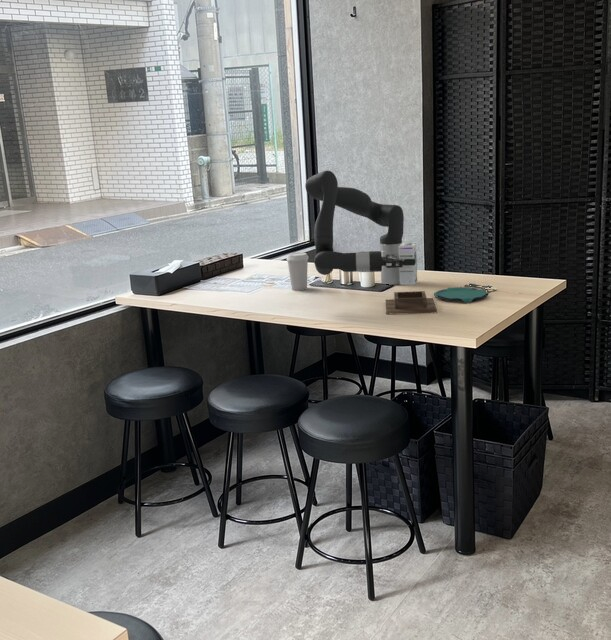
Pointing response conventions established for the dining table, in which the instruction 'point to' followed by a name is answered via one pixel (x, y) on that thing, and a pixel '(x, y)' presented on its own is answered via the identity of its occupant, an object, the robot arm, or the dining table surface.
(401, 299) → the socket stand
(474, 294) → the green flat pad
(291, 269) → the coffee cup
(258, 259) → the dining table surface
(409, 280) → the syrup box
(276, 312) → the dining table surface
